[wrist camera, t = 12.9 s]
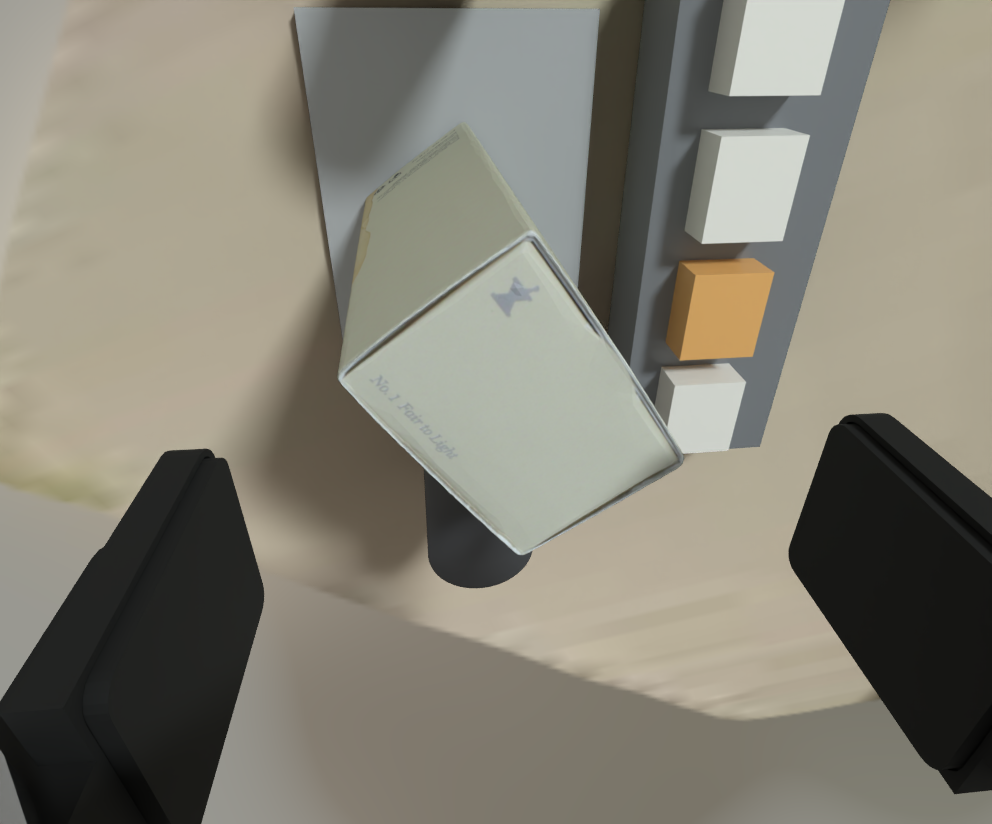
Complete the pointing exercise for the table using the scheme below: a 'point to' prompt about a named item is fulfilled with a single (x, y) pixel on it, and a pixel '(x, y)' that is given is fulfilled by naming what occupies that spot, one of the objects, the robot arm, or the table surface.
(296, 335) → the table surface
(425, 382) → the skincare box
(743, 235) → the grey button panel
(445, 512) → the dark grey capsule
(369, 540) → the table surface
